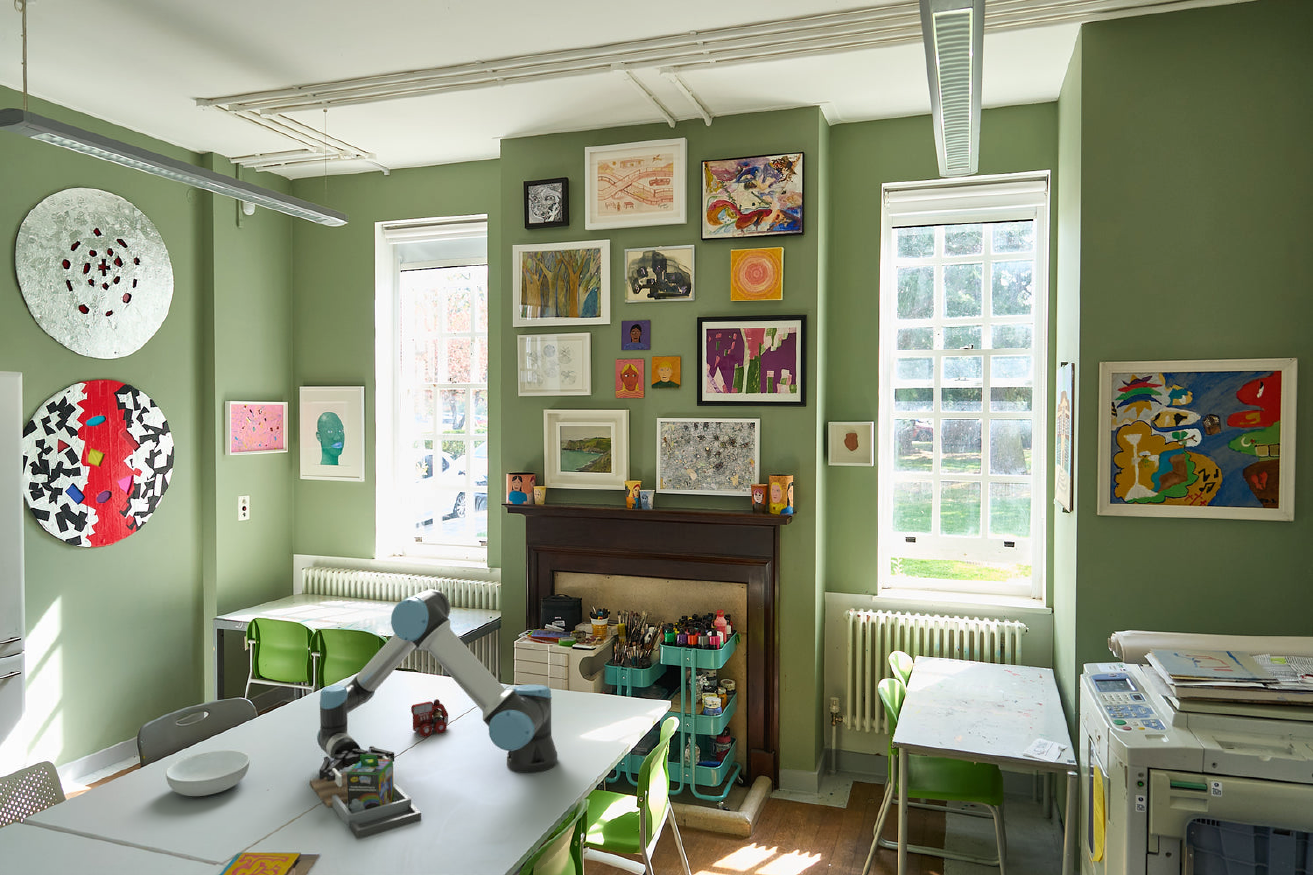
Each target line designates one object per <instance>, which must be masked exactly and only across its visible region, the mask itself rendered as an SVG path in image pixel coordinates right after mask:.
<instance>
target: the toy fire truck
mask: <svg viewBox="0 0 1313 875" xmlns="http://www.w3.org/2000/svg"><path fill="white" fill-rule="evenodd" d="M410 712H411V714H412V731H413V732H416V733H419V735H420V736H421V737H423V738H427V737H429V736H430V735H431V734H432V732H433V730H434V732H435V733H437V734H443V733H445V732H446V731H447V726H448V724H449V713H448V711H447V709H446V707H445V706H444V704H443V703H441V702H440V699H437V698H435V699H434V700H433V702H432V701H431V700H430V701H425V702H420V703H416V704H412V705H411V709H410Z"/></svg>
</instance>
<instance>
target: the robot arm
mask: <svg viewBox="0 0 1313 875" xmlns="http://www.w3.org/2000/svg"><path fill="white" fill-rule="evenodd" d="M450 613H451V604H450V600H449V599H448V597H447V596H446V595H445V594H444V593H443V592H442V591H440V590H437V589H432V588H431V589H425V590H422V591H420V592H418V593H416V594H413V595H410V596H407V597H405V598H404V599H403V600H401V601H400V602H398V603H397V604H396V605H395V607H394V608H393V610H392V611H391V618H390V625H391V629H392V631H393V633H394V634H393V635H392V636H391V637H390V638H389V639H388V641H387V642H386V643H385V644H384V645H383V646H382V647H381V648H380V649H379V650H378V651H377V652H376V654H375V655H374V656H373V657H372V658H371V659H370V660H369V661H368V663H366V665H365V666H364V667H363V668H362V669H361V670H360V672H358V673H357V674H356V675H355V677H354V678H353V679H352V680H351V681H350V682H349V683H348V684H346V685H341V684H334V685H330V686H326V687H323V689H322V690H321V691H320V697H319V712H320V713H319V715H320V716H319V719H320V720H319V721H320V723H319V724H320V727H319V728H320V729H319V730H318V733H317V735H316V740H317V743H318V745H319V748H321V750H322V751H323V752H324V753H325V754H326V756H324V757H323V762H322V764H321V766H320V767H319V769H318V770H319V772H318V774H319V775H318V779H320V780H322V779H324V778H325V777H327V781H335V783H336V784H337V785H338V786H339V787H341V786H342V776H341V774H340V773H341V772H340V771H341V770H342V771H343V770H344V769H346V768H349V767H353V766H354V765H355V764H357V763H358V762H360V761H361V759H360V755H361V754H373V755H377V758H378V759H393V763H394V762H395V752H394V751H392V750H391V751H390V750H387V749H382V748H377V747H375V746H373V745H370V746H369V747H368V749H367V750H364V749H362V748H361V747H360V745H359V743H357V741H355V740H354V738H352V736H350V734H349V733H348V714H349V713H351V712H352V711H353V710H355V709H357V708H359V707H360V706H362V705H364V704H367V703H368V701H370V700H371V699H372V698H373V697H374V695H375V692H376V690H377V689H378V688H379V687H380V686H381V685H382V684H383V683H384V682H385V680H386V679H387V678H388V677H389V676H390V675H391V674H392V673H393V672H394V671H395V670H396V668H398V667H399V665H401V664H402V663H403V661H404V660H405V659H406V658H407V657H408V656H409V655H410V654H411V653H412V651H414V650H415V648H417V649H418V650H426V651H427V652H428V653H429V654H430V655H431V656H432V657H433V658H434V659H435V661H437V662H438V664H439V665H440V666H441V667H442V668H443V669H444V670H445V672H446V673H447V674H448V675H449V676H450V677H451V678H452V679H453V681H454V682H456V684H457V685H458V686H459V687H460V688H461V689H462V691H463V692H464V693H466V695H467V696H468V697H469V698H470V699H471V700H472V702H473V703H475V705H476V706H477V707H478V708H479V709H480V710H481V711H482V721H483V723H484V724H486V726H488V732H489V733H488V735H489V738H490V740H491V741H492V743H493V744H494V746H496V747H497V748H498V749H500V750H503V751H508V752H507V755H506V767H507V768H509V770H512V771H515V772H519V773H536V772H537V773H538V772H543V771H547V770H549V769H551V768H553V767H555V766H556V765H557V764H558V752H557V749H556V746H555V742H554V740H553V736H552V699H553V697H552V690H551V689H550V687H549V686H547V685H543V684H520V685H517V686H516V685H515V686H514V687H513V688H512V689H506V688H505V686H503V684H501V682H499V681H498V679H497V678H496V677H494V675H493V674H492V673H491V672H490V670H488V669H487V667H486V666H485V665H484V664H483V663H482V662H481V661H480V660H479V659H478V657H477V656H476V655H475V654H474V653H473V652H472V650H470V649H469V648H468V647H467V646H466V644H465V643H464V642H463V641H462V640H461V639H460V638H459V636H457V635H456V633H455V632H454V631H453V630H452V629H451V619H449V616H450ZM366 759H371V758H366Z"/></svg>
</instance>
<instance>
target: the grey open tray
mask: <svg viewBox="0 0 1313 875" xmlns="http://www.w3.org/2000/svg"><path fill="white" fill-rule="evenodd" d="M394 800H396V801H393V802H392V803H389V804H385V805H382V806H378V807H375V808H371V809H368V810H364V811H360V812H357V813H353V814H352V813H351V812H350V811H349V809H348V806H346V804H345V803H343V802H342V801H341V800H340V799H339V797H338V796H337V795H333V796H332V806H331V807H332V808H333V810H334V811H335V813H337V814H338V816H339V817H340V818H341V820H342V821H343V822H344V824H346V826H347V827H348V829H349V830H350V831H351V832H352V833H353V835H354V836H355V838H357V839H359V840H360V839H363V838H367V837H370V836H373V835H376V834H379V833H383V832H386V831H390V830H393V829H397V828H400V827H402V826H407V825H409V824H413V823H417V822H419V821H422V812H421V811H420V810H419V809H418V807H416V806H415V805H414V804H413V803H412V798H411V797H410V796H409V795H408V794H407V793H405V792H404V791H403V789H402V788H400V787H399V785H397V784H396V783H395V782H394Z"/></svg>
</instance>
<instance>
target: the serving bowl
mask: <svg viewBox="0 0 1313 875" xmlns="http://www.w3.org/2000/svg"><path fill="white" fill-rule="evenodd" d="M250 763H251V761H250V756H249V754H247V753H245V752H242V751H239V750H217V751H208V752H202V753H199V754H198V753H197V754H195V755H191V756H187V757H186V758H182V759H180V760H178V761H177V762H174V763H172V764H171V765H170V766H169V767H168V768H167V769H166V770H165V771H166V772H165V778H166V781H167V784H168V786H169V787H170V789H171V790H172V791H174V792H175V793H177V794H180V795H182V796H187V797H201V796H209V795H214V794H217V793H221V792H224V791H226V790H228V789H231V788H232V787H234V786H235V785H237V784H238V783H239V782H241V780H243V779H244V778H245V777H246V774H248V773H247V772H248V770H249V767H250Z"/></svg>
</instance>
